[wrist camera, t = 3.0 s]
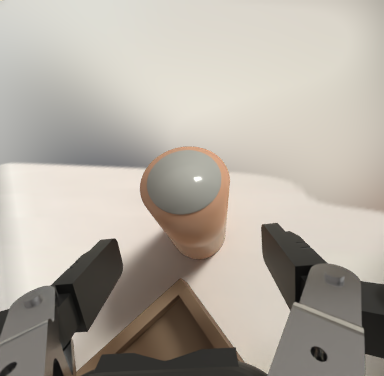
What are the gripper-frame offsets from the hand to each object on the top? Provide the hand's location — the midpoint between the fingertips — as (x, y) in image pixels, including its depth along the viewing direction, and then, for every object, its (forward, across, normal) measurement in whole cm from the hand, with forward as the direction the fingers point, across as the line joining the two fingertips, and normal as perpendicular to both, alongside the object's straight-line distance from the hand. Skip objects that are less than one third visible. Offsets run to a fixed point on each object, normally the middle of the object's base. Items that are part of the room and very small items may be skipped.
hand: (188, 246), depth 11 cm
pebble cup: (+9, 0, +4) cm, 10 cm away
